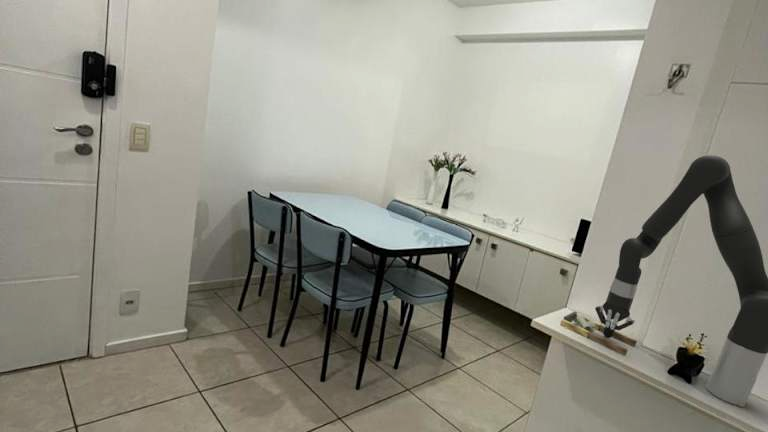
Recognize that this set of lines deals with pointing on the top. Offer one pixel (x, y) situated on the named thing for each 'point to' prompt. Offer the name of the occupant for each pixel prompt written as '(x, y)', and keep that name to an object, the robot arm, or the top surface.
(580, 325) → the pipe fitting
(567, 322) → the rail
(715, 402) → the top surface
